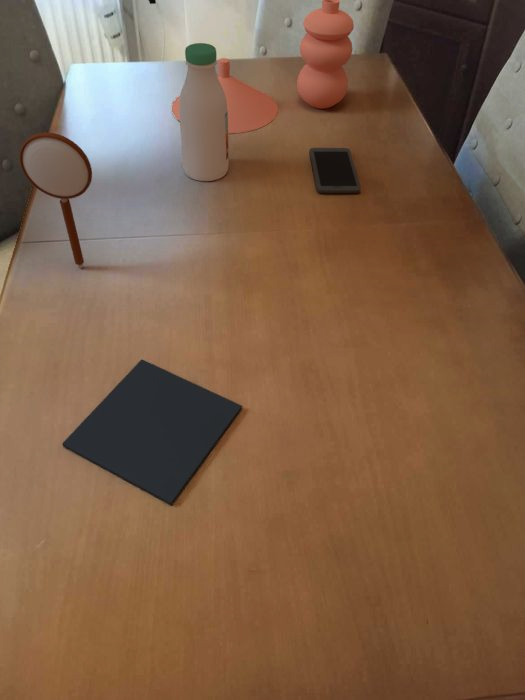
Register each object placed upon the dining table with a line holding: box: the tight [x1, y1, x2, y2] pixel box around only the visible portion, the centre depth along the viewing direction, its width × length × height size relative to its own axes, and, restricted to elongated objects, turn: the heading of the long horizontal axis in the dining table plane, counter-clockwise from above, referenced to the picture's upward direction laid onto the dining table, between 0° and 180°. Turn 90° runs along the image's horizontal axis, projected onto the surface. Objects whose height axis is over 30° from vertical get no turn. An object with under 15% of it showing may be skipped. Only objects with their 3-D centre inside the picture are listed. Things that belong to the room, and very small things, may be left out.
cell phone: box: [308, 147, 362, 194], centre depth 103 cm, size 7×14×1 cm, turn 3°
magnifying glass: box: [19, 132, 93, 269], centre depth 77 cm, size 9×2×20 cm, turn 85°
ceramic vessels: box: [171, 0, 355, 135], centre depth 112 cm, size 35×21×19 cm, turn 100°
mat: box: [61, 359, 243, 507], centre depth 66 cm, size 14×14×1 cm
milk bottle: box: [179, 42, 230, 182], centre depth 95 cm, size 8×8×20 cm
